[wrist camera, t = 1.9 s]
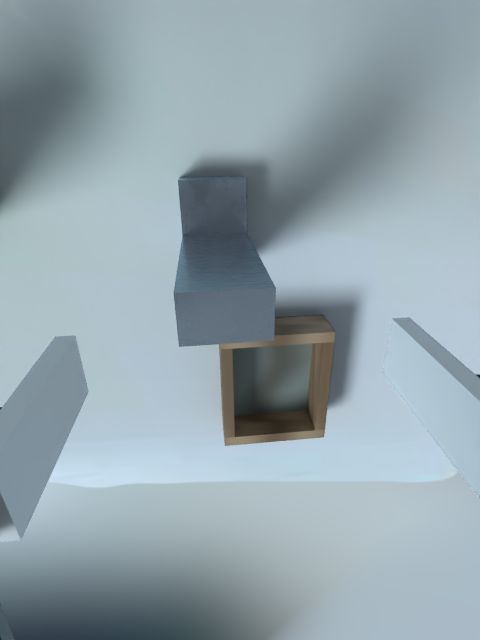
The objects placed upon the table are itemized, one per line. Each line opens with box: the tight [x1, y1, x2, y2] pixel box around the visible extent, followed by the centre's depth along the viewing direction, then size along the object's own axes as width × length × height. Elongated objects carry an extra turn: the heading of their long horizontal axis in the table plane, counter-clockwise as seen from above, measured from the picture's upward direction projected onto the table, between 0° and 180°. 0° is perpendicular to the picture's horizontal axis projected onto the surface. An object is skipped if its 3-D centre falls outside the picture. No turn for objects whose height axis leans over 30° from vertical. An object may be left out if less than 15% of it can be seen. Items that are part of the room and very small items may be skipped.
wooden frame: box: [219, 315, 336, 446], centre depth 36 cm, size 10×12×4 cm
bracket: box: [174, 176, 276, 347], centre depth 24 cm, size 7×5×14 cm
